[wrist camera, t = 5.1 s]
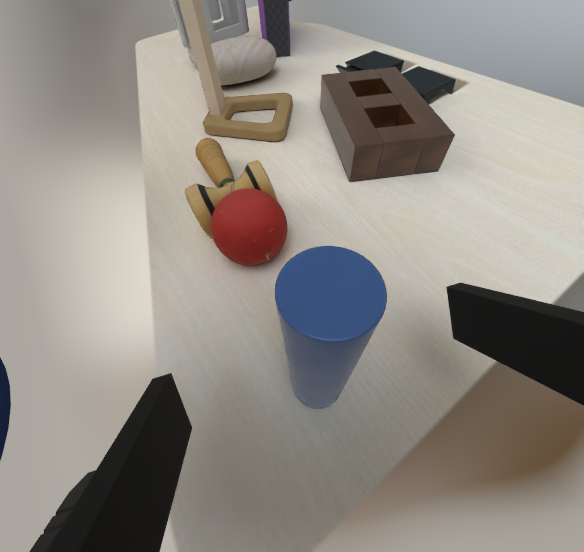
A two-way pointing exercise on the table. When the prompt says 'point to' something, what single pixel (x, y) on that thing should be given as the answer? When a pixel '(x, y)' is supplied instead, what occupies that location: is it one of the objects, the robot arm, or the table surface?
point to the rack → (382, 125)
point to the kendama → (238, 208)
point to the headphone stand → (225, 107)
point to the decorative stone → (243, 59)
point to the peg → (327, 318)
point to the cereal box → (276, 24)
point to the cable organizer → (222, 30)
